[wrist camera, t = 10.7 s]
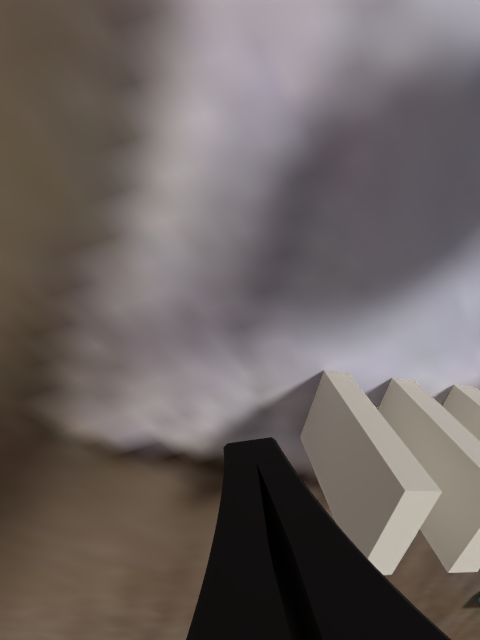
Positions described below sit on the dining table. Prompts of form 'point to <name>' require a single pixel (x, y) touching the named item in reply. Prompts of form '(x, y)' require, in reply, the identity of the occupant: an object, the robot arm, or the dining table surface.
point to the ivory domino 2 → (441, 471)
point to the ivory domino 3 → (465, 407)
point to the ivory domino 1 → (366, 472)
